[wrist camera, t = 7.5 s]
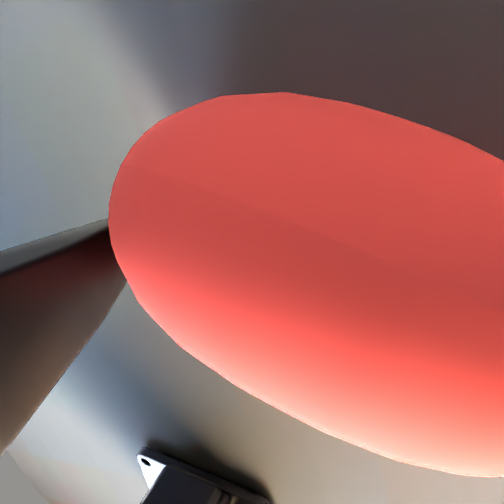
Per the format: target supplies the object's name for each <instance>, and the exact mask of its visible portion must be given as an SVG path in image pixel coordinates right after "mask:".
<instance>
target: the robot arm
mask: <svg viewBox="0 0 504 504" xmlns="http://www.w3.org/2000/svg"><path fill="white" fill-rule="evenodd" d="M126 283H127V279H126V277H125V275H124V273H123V272H122V270H121V268H120V266H119V264H118V262H117V260H116V257H115V254H114V251H113V248H112V245H111V240H110V233H109V226H108V218H106V219H103V220H99V221H96V222H93V223H90V224H86V225H83V226H80V227H77V228H73V229H70V230H67V231H64V232H61V233H57V234H54V235H51V236H48V237H44V238H41V239H38V240H35V241H31V242H28V243H25V244H22V245H19V246H15V247H12V248H9V249H6V250H2V251H0V458H1V456H2V455H3V454H4V452H5V451H6V450H7V448H8V447H9V446H10V444H11V443H12V442H13V440H14V439H15V438H16V436H17V435H18V434H19V432H20V431H21V430H22V428H23V427H24V426H25V424H26V423H27V422H28V420H29V419H30V418H31V416H32V415H33V414H34V412H35V411H36V410H37V409H38V407H39V406H40V405H41V403H42V402H43V401H44V399H45V398H46V397H47V395H48V394H49V393H50V391H51V390H52V389H53V387H54V386H55V385H56V383H57V382H58V381H59V379H60V378H61V377H62V375H63V374H64V373H65V371H66V370H67V369H68V367H69V366H70V365H71V363H72V362H73V361H74V359H75V358H76V357H77V355H78V354H79V353H80V352H81V350H82V349H83V348H84V346H85V345H86V344H87V342H88V341H89V340H90V338H91V337H92V336H93V334H94V333H95V332H96V330H97V329H98V327H99V326H100V325H101V323H102V322H103V320H104V319H105V317H106V316H107V314H108V312H109V311H110V309H111V307H112V306H113V304H114V303H115V301H116V299H117V298H118V296H119V294H120V293H121V291H122V290H123V288H124V286H125V285H126ZM137 460H138V462H139V465H140V467H141V469H142V472H143V474H144V477H145V479H146V482H147V484H148V486H149V491H148V492H147V494H146V495H145V497H144V498H143V500H142V501H141V503H140V504H270V502H269V501H268V500H267V499H265V498H264V497H262V496H260V495H258V494H256V493H253V492H251V491H249V490H246V489H244V488H242V487H239V486H237V485H235V484H232V483H230V482H228V481H225V480H223V479H221V478H218V477H216V476H214V475H211V474H209V473H207V472H204V471H202V470H200V469H197V468H195V467H192V466H190V465H188V464H185V463H183V462H181V461H178V460H176V459H174V458H171V457H169V456H167V455H164V454H162V453H160V452H157V451H155V450H153V449H150V448H148V447H143V448H142V449H141V450H140V452H139V453H138V454H137Z"/></svg>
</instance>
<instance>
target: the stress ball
mask: <svg viewBox="0 0 504 504" xmlns="http://www.w3.org/2000/svg"><path fill="white" fill-rule="evenodd" d="M108 226H109V233H110V240H111V245H112V248H113V251H114V254H115V257H116V260H117V262H118V264H119V266H120V268H121V270H122V272H123V273H124V275H125V277H126V279H127V281H128V283H129V285H130V287H131V289H132V291H133V293H134V294H135V296H136V298H137V300H138V302H139V303H140V304H141V306H142V307H143V308H144V309H145V310H146V311H147V313H148V314H149V315H150V316H151V317H152V318H153V319H154V320H155V321H156V322H157V323H158V324H159V325H160V326H161V327H162V328H163V329H164V330H165V332H166V333H167V334H168V335H169V336H170V337H171V338H172V339H173V340H174V341H175V342H176V343H177V344H178V345H179V346H180V347H181V348H183V349H184V350H186V351H187V352H188V353H190V354H191V355H193V356H194V357H196V358H197V359H198V360H200V361H201V362H203V363H204V364H206V365H207V366H209V367H210V368H211V369H213V370H214V371H216V372H217V373H219V374H220V375H222V376H223V377H224V378H226V379H227V380H229V381H230V382H232V383H233V384H235V385H236V386H238V387H240V388H241V389H243V390H245V391H247V392H248V393H250V394H252V395H254V396H255V397H257V398H259V399H261V400H263V401H265V402H266V403H268V404H270V405H272V406H274V407H276V408H278V409H279V410H281V411H283V412H285V413H287V414H289V415H291V416H293V417H295V418H297V419H299V420H301V421H303V422H305V423H307V424H309V425H311V426H313V427H315V428H317V429H319V430H321V431H323V432H325V433H327V434H329V435H332V436H334V437H337V438H340V439H342V440H345V441H347V442H350V443H352V444H355V445H357V446H360V447H362V448H365V449H368V450H370V451H373V452H375V453H378V454H380V455H383V456H385V457H388V458H391V459H394V460H397V461H400V462H403V463H408V464H412V465H417V466H422V467H426V468H431V469H435V470H440V471H445V472H449V473H454V474H459V475H465V476H477V477H504V161H503V160H501V159H499V158H497V157H495V156H493V155H491V154H489V153H487V152H485V151H483V150H481V149H479V148H477V147H475V146H473V145H471V144H469V143H467V142H465V141H463V140H461V139H458V138H456V137H453V136H450V135H448V134H445V133H442V132H440V131H437V130H434V129H432V128H429V127H426V126H423V125H420V124H418V123H415V122H412V121H409V120H406V119H403V118H400V117H396V116H393V115H390V114H387V113H384V112H380V111H377V110H373V109H370V108H366V107H363V106H359V105H355V104H351V103H347V102H341V101H336V100H330V99H324V98H318V97H312V96H306V95H301V94H295V93H289V92H276V93H259V94H242V95H225V96H219V97H216V98H212V99H209V100H206V101H203V102H200V103H198V104H196V105H193V106H191V107H188V108H186V109H183V110H181V111H179V112H176V113H174V114H172V115H170V116H168V117H166V118H164V119H162V120H160V121H159V122H158V123H156V124H155V125H154V126H153V127H151V128H150V129H149V130H147V131H146V132H145V133H144V134H143V135H142V136H141V137H140V138H139V140H138V141H137V142H136V143H135V144H134V145H133V146H132V147H131V149H130V151H129V152H128V154H127V156H126V157H125V159H124V160H123V162H122V164H121V166H120V168H119V171H118V173H117V176H116V178H115V181H114V183H113V187H112V192H111V197H110V202H109V218H108Z"/></svg>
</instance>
